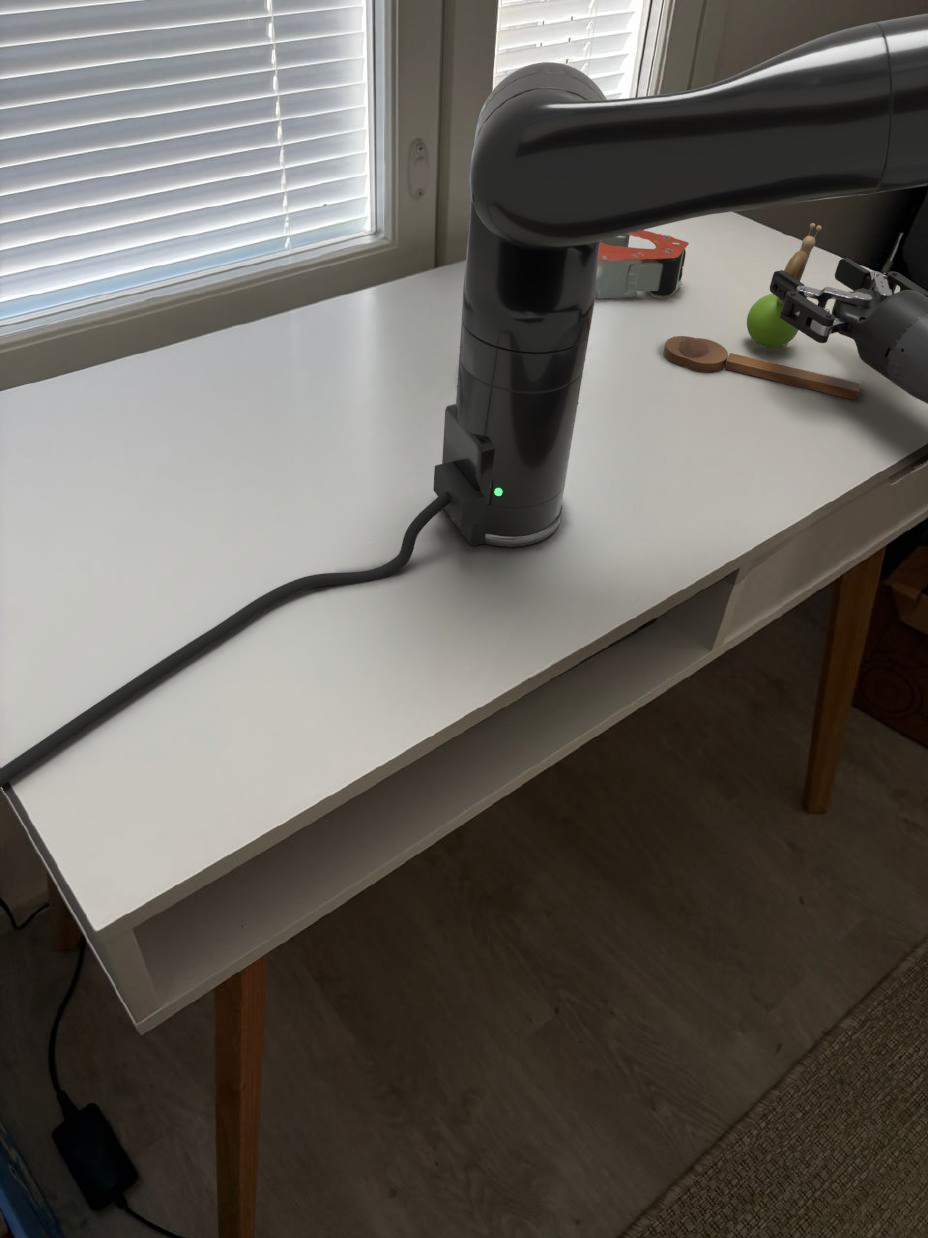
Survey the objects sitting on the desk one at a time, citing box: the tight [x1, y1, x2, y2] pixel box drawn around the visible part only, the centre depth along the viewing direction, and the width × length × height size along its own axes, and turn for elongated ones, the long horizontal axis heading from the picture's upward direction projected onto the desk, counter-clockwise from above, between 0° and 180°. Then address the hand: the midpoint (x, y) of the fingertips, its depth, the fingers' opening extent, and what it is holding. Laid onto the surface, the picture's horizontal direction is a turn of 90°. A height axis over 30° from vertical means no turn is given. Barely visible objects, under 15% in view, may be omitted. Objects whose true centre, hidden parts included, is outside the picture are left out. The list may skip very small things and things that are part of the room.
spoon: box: [663, 335, 861, 401], centre depth 103 cm, size 20×5×1 cm, turn 70°
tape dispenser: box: [595, 230, 689, 300], centre depth 113 cm, size 18×5×20 cm
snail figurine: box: [746, 222, 822, 349], centre depth 104 cm, size 5×6×12 cm
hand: (807, 273), depth 102 cm, fingers open, 8 cm apart
